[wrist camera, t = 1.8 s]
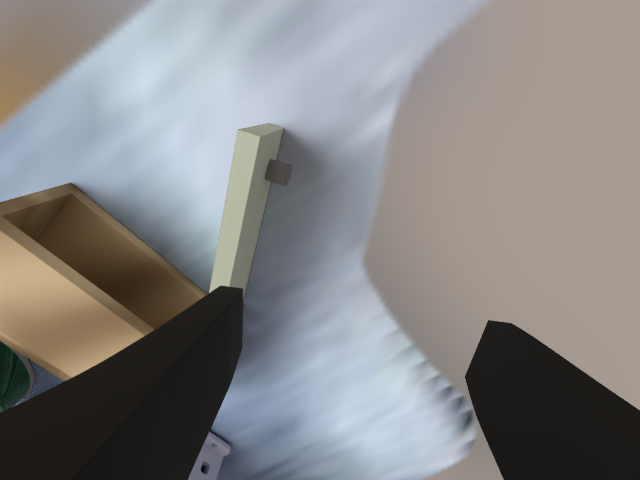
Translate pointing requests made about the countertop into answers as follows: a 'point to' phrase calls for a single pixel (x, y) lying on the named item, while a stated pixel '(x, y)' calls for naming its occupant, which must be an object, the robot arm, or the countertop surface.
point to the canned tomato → (14, 376)
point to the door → (247, 202)
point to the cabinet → (79, 282)
